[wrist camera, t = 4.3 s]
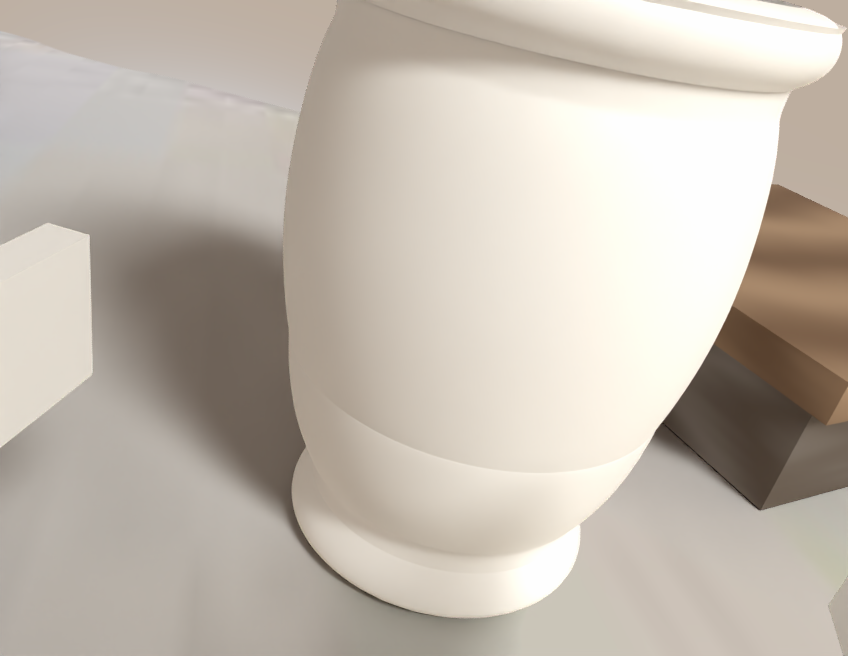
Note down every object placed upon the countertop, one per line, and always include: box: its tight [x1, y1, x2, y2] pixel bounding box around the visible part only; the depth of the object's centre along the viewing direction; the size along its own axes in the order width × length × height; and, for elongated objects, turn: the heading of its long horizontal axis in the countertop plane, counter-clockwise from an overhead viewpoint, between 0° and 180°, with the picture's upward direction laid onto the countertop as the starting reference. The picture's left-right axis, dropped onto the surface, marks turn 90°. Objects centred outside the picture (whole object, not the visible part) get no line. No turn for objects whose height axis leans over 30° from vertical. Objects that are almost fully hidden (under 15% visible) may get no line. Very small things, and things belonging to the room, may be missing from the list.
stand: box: [663, 184, 848, 510], centre depth 33 cm, size 16×16×6 cm
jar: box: [283, 0, 847, 618], centre depth 19 cm, size 11×10×15 cm
